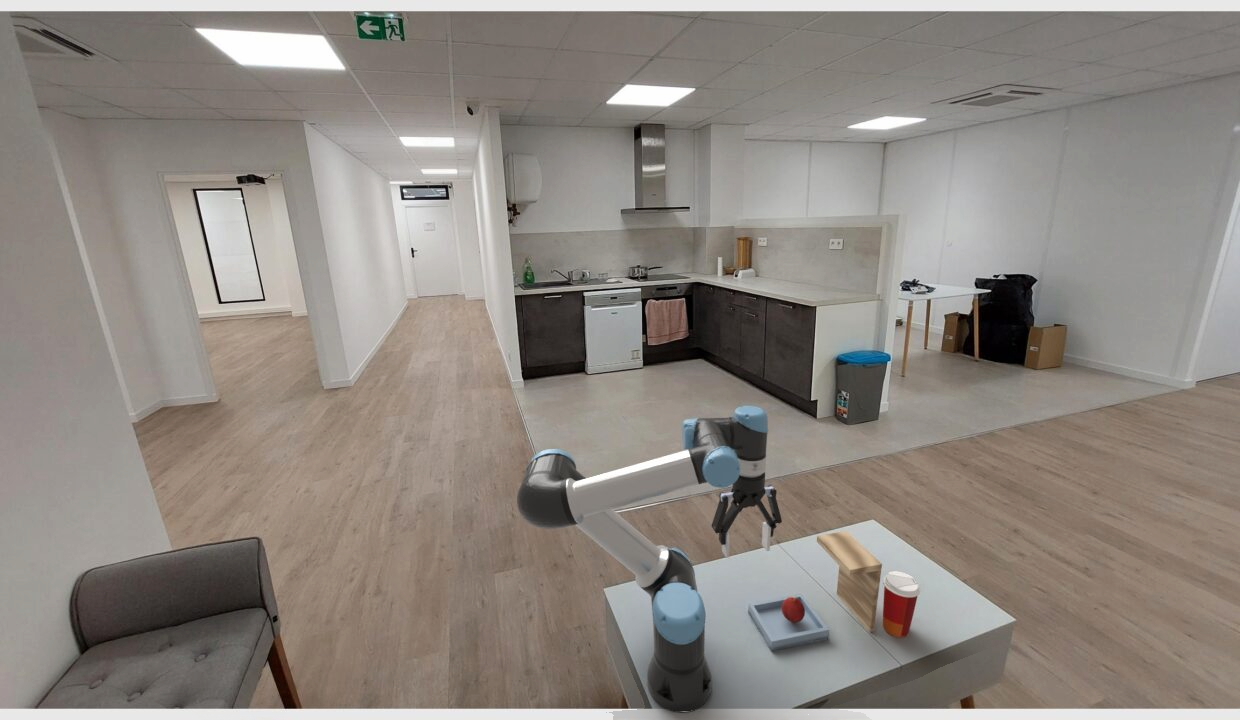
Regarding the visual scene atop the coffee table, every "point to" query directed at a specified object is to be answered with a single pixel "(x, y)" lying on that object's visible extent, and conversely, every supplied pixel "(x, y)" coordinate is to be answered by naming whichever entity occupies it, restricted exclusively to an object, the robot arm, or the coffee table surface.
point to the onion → (793, 609)
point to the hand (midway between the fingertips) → (745, 550)
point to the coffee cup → (899, 603)
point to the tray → (786, 624)
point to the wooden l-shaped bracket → (855, 575)
